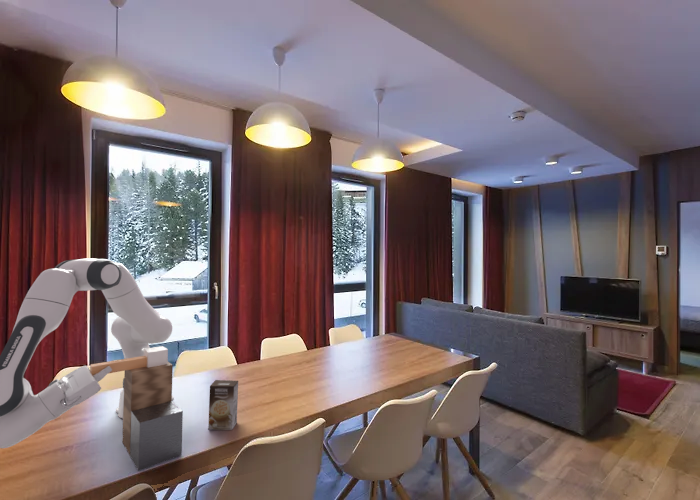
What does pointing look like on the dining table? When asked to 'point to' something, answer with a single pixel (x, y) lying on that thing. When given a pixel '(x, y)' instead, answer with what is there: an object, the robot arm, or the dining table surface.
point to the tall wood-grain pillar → (144, 392)
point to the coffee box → (223, 405)
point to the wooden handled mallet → (135, 361)
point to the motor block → (156, 434)
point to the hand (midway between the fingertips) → (109, 365)
